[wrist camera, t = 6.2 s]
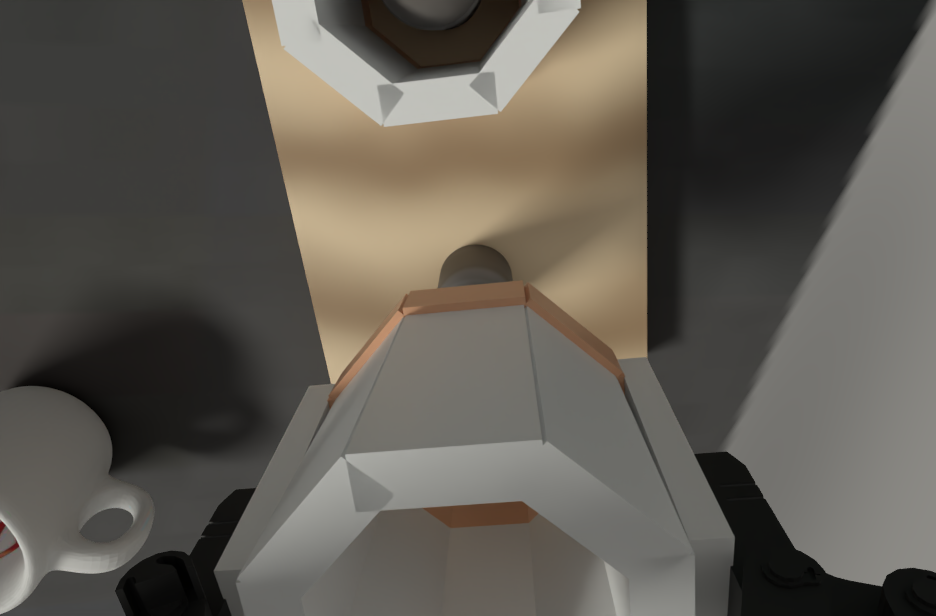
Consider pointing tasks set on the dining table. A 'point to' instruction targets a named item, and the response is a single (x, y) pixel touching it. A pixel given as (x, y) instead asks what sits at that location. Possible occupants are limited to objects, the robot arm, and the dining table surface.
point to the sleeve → (475, 477)
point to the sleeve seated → (402, 79)
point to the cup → (58, 491)
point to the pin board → (472, 174)
